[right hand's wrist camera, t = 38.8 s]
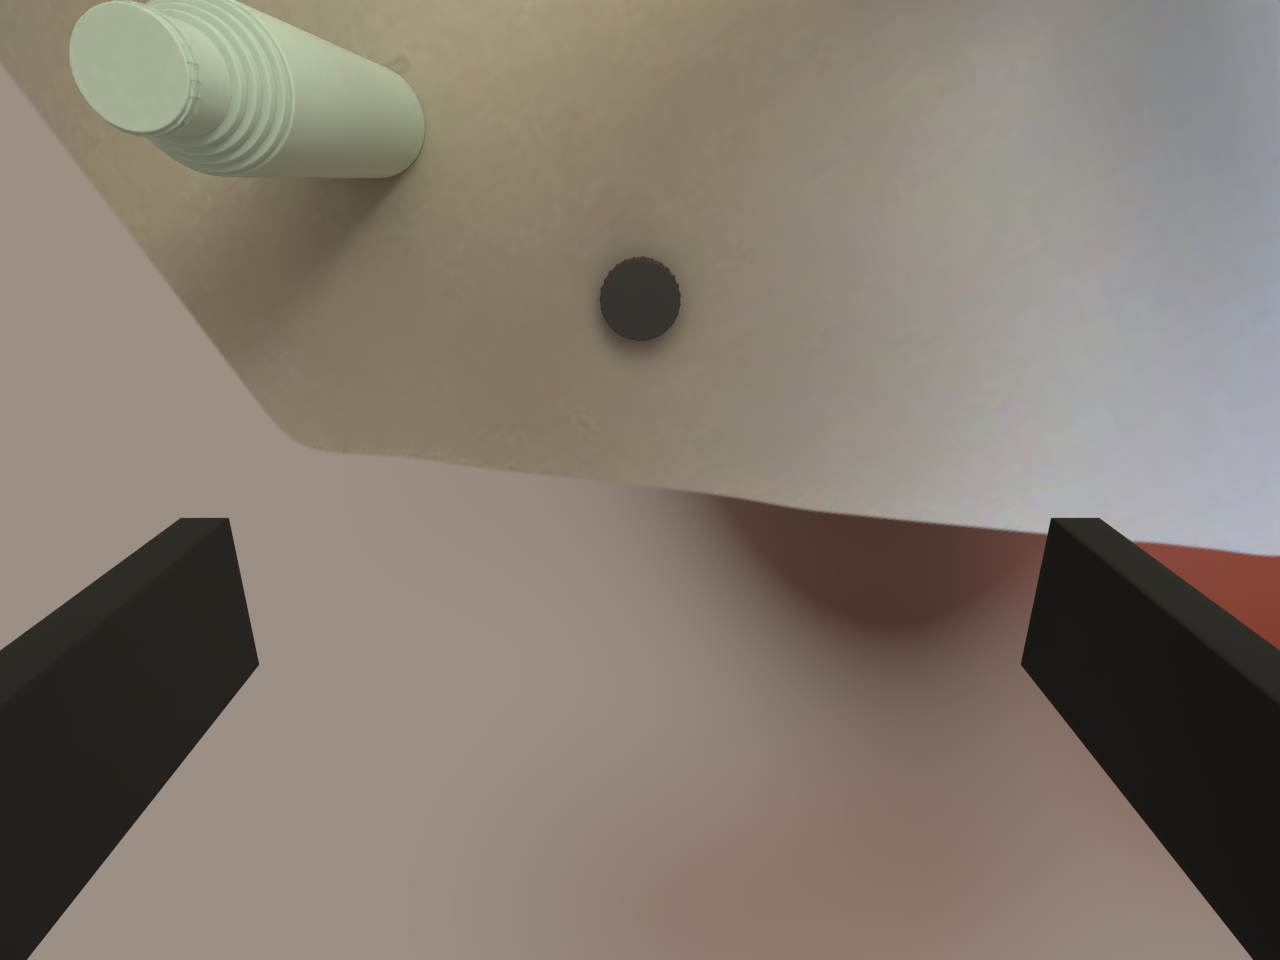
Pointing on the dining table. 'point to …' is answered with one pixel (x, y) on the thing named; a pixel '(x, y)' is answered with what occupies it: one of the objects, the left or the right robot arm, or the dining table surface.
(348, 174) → the bottle
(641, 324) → the cap
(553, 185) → the dining table surface
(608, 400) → the dining table surface
